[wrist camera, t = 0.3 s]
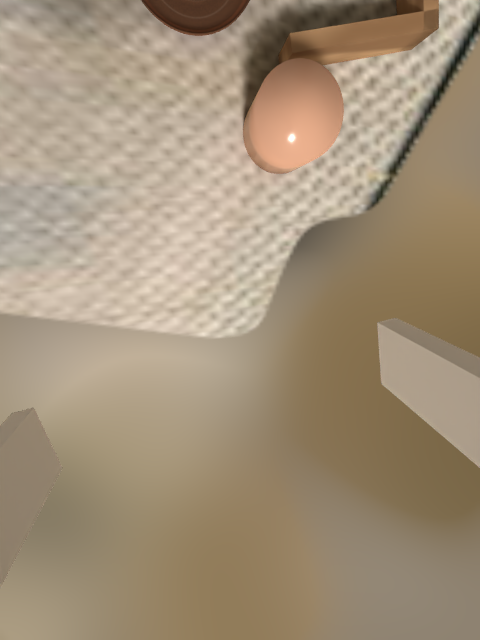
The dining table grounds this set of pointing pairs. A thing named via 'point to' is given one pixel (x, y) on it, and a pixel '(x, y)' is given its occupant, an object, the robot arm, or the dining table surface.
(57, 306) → the dining table surface
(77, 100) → the dining table surface
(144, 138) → the dining table surface
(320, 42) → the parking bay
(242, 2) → the cup and saucer
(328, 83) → the peach rounded capsule
